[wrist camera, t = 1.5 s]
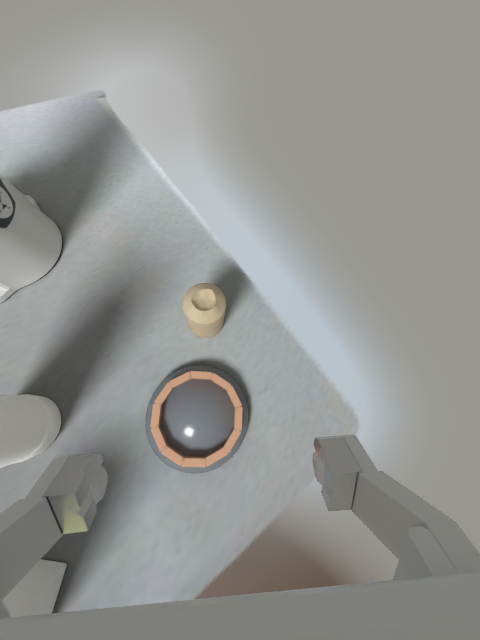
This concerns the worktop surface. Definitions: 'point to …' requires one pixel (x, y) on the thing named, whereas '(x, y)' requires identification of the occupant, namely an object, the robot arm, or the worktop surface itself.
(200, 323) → the candle
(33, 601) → the milk carton
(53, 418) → the bottle
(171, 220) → the worktop surface
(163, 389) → the tray
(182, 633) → the robot arm
